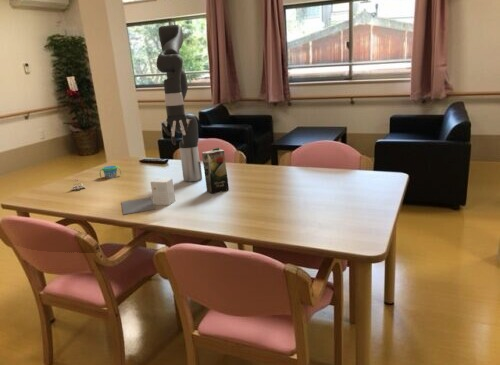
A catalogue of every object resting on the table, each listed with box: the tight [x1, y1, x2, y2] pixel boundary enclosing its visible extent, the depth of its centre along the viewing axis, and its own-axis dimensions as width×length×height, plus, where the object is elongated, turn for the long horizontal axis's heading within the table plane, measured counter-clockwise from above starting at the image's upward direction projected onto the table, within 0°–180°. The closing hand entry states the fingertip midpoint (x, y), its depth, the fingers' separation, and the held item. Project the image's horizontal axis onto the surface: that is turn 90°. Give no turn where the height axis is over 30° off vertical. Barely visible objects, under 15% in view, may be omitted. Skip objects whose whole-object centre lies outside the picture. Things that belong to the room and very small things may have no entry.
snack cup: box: [99, 165, 122, 179], centre depth 226 cm, size 11×8×7 cm
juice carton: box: [201, 147, 230, 195], centre depth 189 cm, size 20×10×6 cm
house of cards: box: [71, 178, 85, 191], centre depth 205 cm, size 9×9×8 cm
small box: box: [150, 178, 176, 206], centre depth 178 cm, size 8×6×10 cm
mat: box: [121, 196, 156, 216], centre depth 178 cm, size 13×18×1 cm
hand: (179, 144), depth 175 cm, fingers open, 3 cm apart
